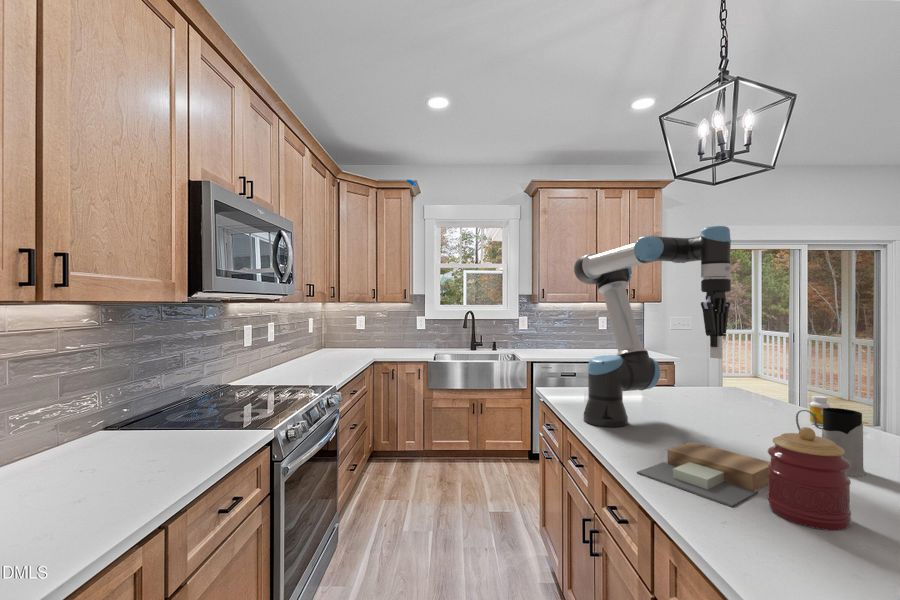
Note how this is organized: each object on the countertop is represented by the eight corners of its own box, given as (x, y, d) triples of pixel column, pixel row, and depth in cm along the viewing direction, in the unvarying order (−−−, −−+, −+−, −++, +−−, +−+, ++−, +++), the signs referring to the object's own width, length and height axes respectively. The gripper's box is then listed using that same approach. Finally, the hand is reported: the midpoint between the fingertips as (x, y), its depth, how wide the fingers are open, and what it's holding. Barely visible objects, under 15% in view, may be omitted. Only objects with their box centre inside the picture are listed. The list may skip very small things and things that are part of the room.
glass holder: (859, 479, 106) (858, 417, 106) (789, 461, 118) (789, 405, 118) (871, 471, 111) (870, 412, 111) (803, 455, 123) (802, 401, 123)
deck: (667, 464, 116) (667, 449, 116) (691, 455, 122) (691, 441, 122) (752, 491, 99) (752, 474, 99) (775, 480, 106) (775, 463, 106)
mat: (636, 473, 110) (636, 471, 110) (663, 463, 117) (663, 462, 117) (732, 507, 92) (732, 505, 92) (757, 493, 98) (757, 491, 98)
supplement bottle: (806, 421, 157) (806, 394, 157) (822, 422, 157) (822, 395, 157) (816, 426, 152) (816, 398, 152) (833, 426, 151) (833, 398, 151)
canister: (827, 538, 80) (826, 440, 80) (753, 507, 92) (753, 423, 92) (865, 523, 85) (865, 432, 85) (791, 496, 97) (790, 416, 97)
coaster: (672, 477, 106) (672, 468, 106) (690, 470, 111) (690, 461, 111) (707, 489, 100) (707, 479, 100) (724, 481, 104) (724, 472, 104)
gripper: (718, 277, 124) (718, 361, 124) (739, 278, 131) (740, 357, 131) (691, 278, 130) (691, 358, 130) (713, 279, 137) (713, 355, 137)
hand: (716, 357), depth 130 cm, fingers closed
